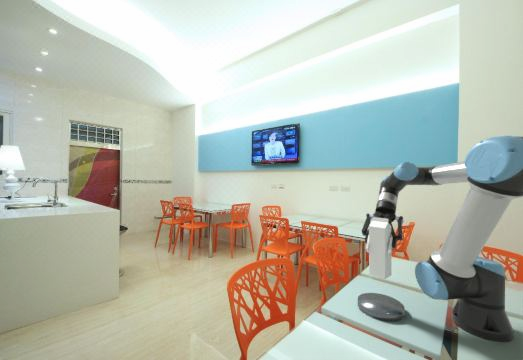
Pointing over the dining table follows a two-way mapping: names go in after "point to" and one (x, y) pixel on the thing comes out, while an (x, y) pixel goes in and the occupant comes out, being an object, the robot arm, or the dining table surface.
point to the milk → (379, 248)
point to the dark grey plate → (381, 307)
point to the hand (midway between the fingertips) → (378, 252)
